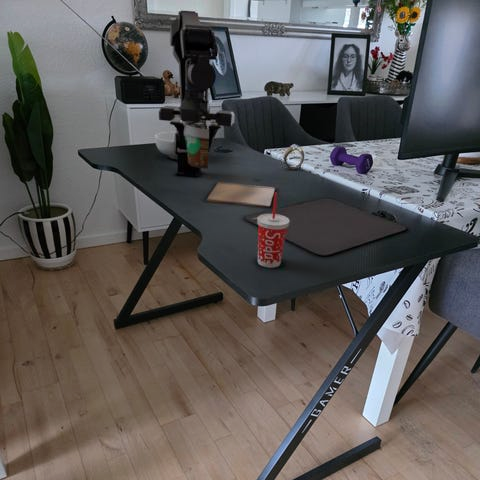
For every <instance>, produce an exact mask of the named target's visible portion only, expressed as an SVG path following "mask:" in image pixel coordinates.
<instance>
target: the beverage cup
mask: <svg viewBox="0 0 480 480" xmlns="http://www.w3.org/2000/svg"><path fill="white" fill-rule="evenodd" d="M277 201H278V192H274V195H273V206H272V207H273V208H272V210H273V214H264V215H260V216H258V218H257V220H258V221H257V223H258V227H257V230H258V231H257V263H258V265H260V266H261V267H264V268H269V269H270V268H271V269H272V268H277V267H279V266H281V263H282V257H283V253H284V246H285V241H286V239H285V236H286V231H287V227H288V226H289V221H290V220H289V219H288V218H287V217H285V216H282V215H277V214H275V211H276V209H277V203H278V202H277Z"/></svg>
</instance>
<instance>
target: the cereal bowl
mask: <svg viewBox="0 0 480 480" xmlns="http://www.w3.org/2000/svg"><path fill="white" fill-rule="evenodd" d="M175 133H177V132H176V130H174V131H163V132H158V133H156V134H155V136H154V140H155V145H156V148H157V150H158V151H159V152H160V153H162V154H163V155H165V156H167V157H168V158H170V159H173V160H177V155H175V152H174V137H175ZM177 149H179V148H177Z"/></svg>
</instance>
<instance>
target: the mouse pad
mask: <svg viewBox="0 0 480 480" xmlns="http://www.w3.org/2000/svg"><path fill="white" fill-rule="evenodd" d="M264 214H273V209H271V210H266V211H263V212H258V213H253V214H249V215H246V216H245V217H244V219H245V220H246V221H247V222H249V223H251V224H253V225H255V226H256V227H257V226H258V223H257V221H258V220H257V218H258V216H260V215H264ZM275 214H277V215H282V216H285V217H287V218H288V219H289V220H290V221H289V226H288V227H287V231H286V236H285V241H288V242H290V243H292V244H295V245H296V246H298V247H300V248H302V249H305V250H306V251H308V252H310V253H312V254H315V255H317V256H321V257H327V256H331V255H334V254H337V253H340V252H343V251H346V250H350V249H353V248H355V247H358V246H361V245H362V246H363V245H365V244H368V243H372V242H374V241H377V240H380V239H383V238H386V237H388V236H393V235H395V234H398V233H401V232H405V231H406V230H407V227H406V226H404V225H402V224H400V223H397V222H394V221H391V220H389V219H386V218H384V217H381V216H378V215H375V214H373V213H370V212H368V211H365V210H362V209H359V208H357V207H355V206H351V205H349V204H346V203H343V202H341V201H338V200H336V199H332V198H321V199H316V200H312V201H307V202H303V203H298V204H293V205H289V206H285V207H279V208H276V211H275Z"/></svg>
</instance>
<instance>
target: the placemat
mask: <svg viewBox="0 0 480 480" xmlns="http://www.w3.org/2000/svg"><path fill="white" fill-rule="evenodd" d="M275 191H276V187H271V186H262V185H253V184H242V183H233V182H232V183H231V182H221V181H218V182H217V183H216V185H215V186H214V188H213V189H212V191H211V192H210V194H209V195H208V197H207V198H206V202H212V203H213V202H214V203H222V204H231V205H239V206H240V205H241V206H251V207H261V208H268V209H269V208H270V207H271V204H272V200H273V199H274V195H275Z"/></svg>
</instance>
